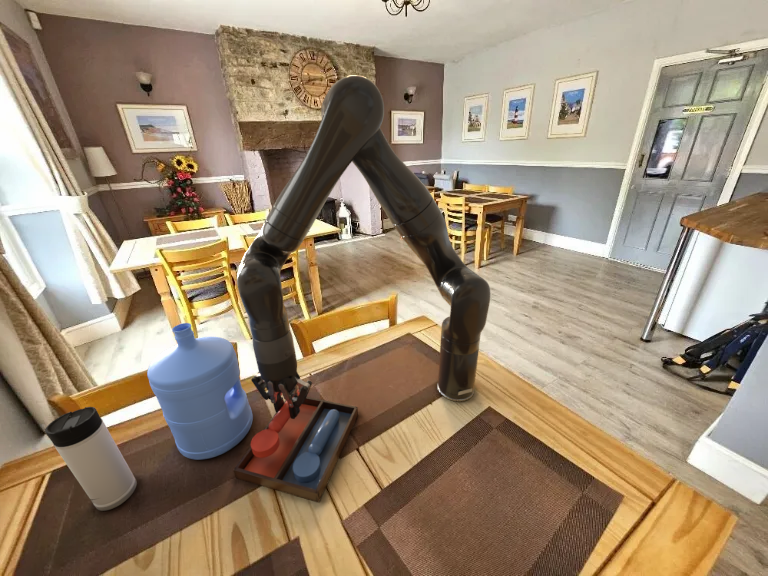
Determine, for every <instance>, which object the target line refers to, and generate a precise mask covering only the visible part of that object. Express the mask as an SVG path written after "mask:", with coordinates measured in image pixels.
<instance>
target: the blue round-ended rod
mask: <svg viewBox="0 0 768 576" xmlns="http://www.w3.org/2000/svg"><path fill="white" fill-rule="evenodd" d="M338 419H339V412H338V411H337V410H335V409H332V410H330V411H329V412H328V414H327V416H326V417H325V419H324V421H323V423H322V425H321V426H320V428H319V430H318V432H317V433H316V435H315V437H314V439H313V441H312V442H311V444H310V446H309V452H307V453H303V454H301V455H300V456H299V457H297V459H296V460H295V462H294V464H293V472H294V476H295V478H296V479H297V480H298V481H299V482H302V483H307V482H310V481H312V480H314V479H315V478H316V477H317V476H318V475H319V473H320V470H321V464H320V459H319V457H318V456H319V455H320V454H321V452H322V450H323V448H324V446H325V444H326V442H327V440H328V438H329V436H330V435H331V433H332V431H333V429H334V427H335V425H336V423H337V421H338Z"/></svg>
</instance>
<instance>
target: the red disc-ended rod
mask: <svg viewBox="0 0 768 576" xmlns="http://www.w3.org/2000/svg"><path fill="white" fill-rule="evenodd" d="M298 391H299V389H298V390H297V393H298V396H299V394H300V393H299V392H298ZM292 399H293V397H292ZM284 402H285V401H284ZM275 414H276V413H275ZM275 414H274V415H275ZM272 418H273V417H272ZM272 418H271V419H272ZM289 418H290V412H289V405H288V403H287V401H286V402H285V403H284V405H283V406H282V407H281V409H280V410H279V411H278V413H277V414H276V415H275V417H274V418H273V419H272V421H271V422H270V421H269V422H270V424H269V429H265V430H264V429H262V430H260V431H259V432H257V433H256V434H255V435H253V437H252V439H251V441H250V447H251V448H252V452H253V454H254V455H255V456H256V457H259V458H264V457H268V456H270V455H272V454H273V453H274V452H275V451H276V450H277V449H278V447H279V444H280V441H279V436H278V433H279V432H280V431H281V430H282V428H283V427H284V425H285V424H286V422H287V421H288V420H289Z"/></svg>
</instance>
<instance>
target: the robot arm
mask: <svg viewBox="0 0 768 576" xmlns="http://www.w3.org/2000/svg"><path fill="white" fill-rule="evenodd" d="M320 113H321V114H320V116H321V121H320V123H319V126H318V129H317V131H316V134H315V136H314V138H313V141H312V142H311V144H310V147H309V148H308V151H306V154H305V155H304V158H303V159H302V161H301V162H300V164H299V166H298V167H297V168H296V170H295V171H294V173H293V175H292V176H291V177H290V179H289V180H288V182H287V183H286V184H285V186H284V187H283V189H282V190H281V192H280V193H279V195H278V197H277V199H276V200H275V202H274V203H273V205H272V207H271V209H270V211H269V212H268V215H267V216H266V218H265V220H264V222H263V224H262V227H261V228H260V231H259V233H258V234H257V235H256V237H255V238H254V239H253V241H252V243H250V246H249V247H248V248H247V250H246V252H244V254H243V257H242V258H241V260H240V263H239V265H238V270H237V274H236V285H237V290H238V294H239V297H240V301H241V303H242V305H243V307H244V310H245V313H246V314H247V319H248V325H249V326H248V327H249V330H250V333H251V339H252V340H251V341H252V348H253V352H254V357H255V361H256V366H257V369H258V372H256V374H255V375H253V377H252V378H251V382H252V384H253V385H254V387H255V388H256V390H257V391H258V392H259V394H260V395H261V397H262V399H263V400H265V401H268V400H270V402H271V404H272V405H273V408H274V412H275V414H276V413H278V411H279V410H280V409H281V407H282V406H283V405H284V402H285V400H287V403H288V405H289V412H290V417H291V419H295V417H297V415H298V414H299V412H300V408H299V407H300V406H301V405H302V403H303V402H304V400H305V399H306V397H308V394H309V392H310V391H311V387H312V385H313V382H312V381H311V380H309V379H308V380H307V381H304V380H302V379H301V376H300V374H299V373H298V361H297V355H296V349H295V344H294V338H293V334H292V331H291V327H290V321H289V316H288V311H287V307H286V306H285V301H284V293H283V292H284V291H283V286H282V278H281V271H282V269H283V267H284V265H285V263H287V260H288V259H289V257H290V255H291V254H292V253H295V252H296V251H298V249H300V246H302V244H303V242H304V240H305V238H306V237H307V235H308V234H309V232H310V230H311V228H312V227H313V225H314V224H315V221H316V220H317V218H318V216H319V215H320V213H321V211H322V209H323V207H324V206H325V203H326V202H327V200H328V198H329V196H330V195H331V194H332V191H333V190H334V188H335V186H336V185H337V183H338V182H339V181H340V179H341V177H342V176H343V174H344V173H345V172H346V170H347V169H348V167H349V166H350V165H351V163H353V165H354V166H355V167H356V168H357V170H358V171H359V173H360V174H361V175H362V177H363V178H364V179H365V181H366V183H367V185H368V187H369V188H370V190H371V191H372V193H373V195H374V197H375V199H376V201H377V202H378V204H379V205H380V206H381V208H382V210H383V211H384V213H385V215H386V217H387V218H388V220H389V221H390V222H391V224H392V226H393V227H394V228H395V230H396V231H397V233H398V234H399V236H400V237H401V239H402V240H403V241H404V242H405V244H406V245H407V246H408V247H409V248H410V250H411V251H412V253H414V254H415V256H416V257H417V258H418V259H419V260H420V261H421V262H422V263H423V265H424V266H425V268H426V270H427V271H428V273H429V275H430V277H431V278H432V281H433V283H434V284H435V286H436V288H437V291H438V292H439V294H440V296H441V298H442V299H443V300H444V301H445V302H446V303H447V304H448V305H449V306H450V312H449V316H447V317H445V318H444V319H443V320H442V322H441V326H440V327H441V328H440V346H439V360H438V361H439V362H438V363H439V364H438V376H437V385H436V386H437V392H439V394H440V395H441V396H442V397H443V398H445V399H446V400H449V401H450V402H456V403H457V402H458V403H460V402H466V401H469V400H470V399H471V398H473V396H474V395H475V383H476V376H477V367H478V359H479V352H480V351H479V350H480V343H481V334H482V332H483V331H484V329H485V328H486V324H487V319H488V314H489V309H490V303H491V287H490V285H489V283H488V282H487V280H485V279H484V278H483V277H482V276H480V274H478V273H476V272H474V270H472V269H470V268H469V266H467V265H466V264H465V263H464V261H463V260H462V259H461V257H460V256H459V255H458V253H457V252H456V250H455V248H453V245H452V244H451V240H450V237H449V232H448V227H447V223H446V219H445V217H444V215H443V213H442V211H441V209H440V207H439V206H438V204H437V202H436V200H435V199H434V197H433V195H432V193H431V192H430V190H429V189H428V188H427V186H426V185H425V184H424V183H423V182H422V181H421V179H420V178H419V177H418V176H417V175H416V173H414V172H413V171H412V170H411V169H410V168H409V167H408V166H407V165H406V164H405V163H404V161H403V160H401V158H400V157H399V156H398V155H397V154H396V153H395V151H394V150H393V148H392V147H391V145H390V143H389V142H388V139H387V138H386V136H385V134H384V132H383V130H382V128H381V126H382V123H383V120H384V116H385V103H384V98H383V96H382V93H381V91H380V90H379V88H378V86H377V85H376V84H375V83H374V82H373V81H372V80H370V79H369V78H367V77H365V76H363V75H357V74H354V75H353V74H352V75H348V76H347V75H346V76H344V77H342V78H340V79H339V80H337V81H336V82H335V83H334V84H332V85H331V87H330V88H329V90H327V92H326V94H325V96H324V98H323V99H322V102H321V109H320ZM298 389H299V391H298V392H299V393H300V394H299V396H298V393H297V390H298ZM266 390H267V391H266ZM292 397H293V399H292Z"/></svg>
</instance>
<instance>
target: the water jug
mask: <svg viewBox="0 0 768 576" xmlns="http://www.w3.org/2000/svg"><path fill="white" fill-rule="evenodd" d="M171 332H172V333H173V334H174V339H175V341H176V343H177V344H175V345H173V346H171V347H169V348H168V349H166V350H164V351H162V352H161V353H160V354H159V355H157V356H156V357H155V358H154V359H153V361H151V363H150V364H149V365H148V368H147V371H146V373H147V379H148V383H149V386H150V388H151V390H152V392H153V394H154V395H155V397H156V400H157V402H158V404H159V406H160V409H161V411H162V415H163V418H164V420H165V422H166V425H167V426H168V427H169V429H170V431H171V434H172V436H173V439H174V442H175V445H176V449H177V450H178V452H179V453H180V454H181V455H182V456H183V457H185V458H187V459H190V460H196V461H197V460H198V461H199V460H201V461H203V460H208V459H212V458H216V457H218V456H221V455H223V454H225V453H227V452H229V451H231V450H232V449H233V448H235V447H236V446H237V445H238V444H240V442H241V441H243V440H244V438H245V437H246V436H247V434H249V431H250V430H251V427H252V425H253V419H254V415H253V411H252V408H251V405H250V403H249V399H248V395H247V393H246V391H245V390H244V388H243V386H242V383H241V379H240V374H241V370H240V366H239V360H238V357H237V352H236V350H235V348H234V345H233V344H232V342H231V341H229V340H228V339H226V338H224V337H219V336H202V337H195V333H194V330H192V324H191V323H189V322H183V323H179V324H177V325H175V326H174V327H172V329H171Z"/></svg>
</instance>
